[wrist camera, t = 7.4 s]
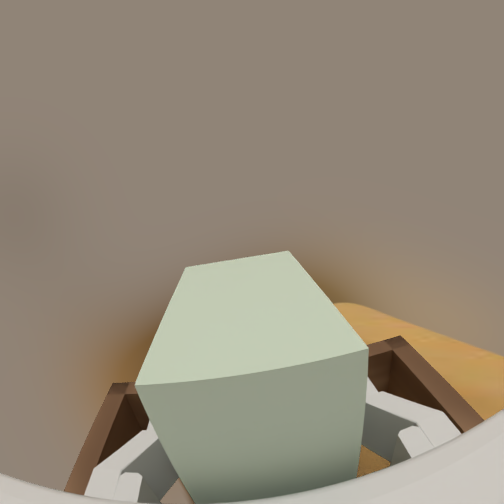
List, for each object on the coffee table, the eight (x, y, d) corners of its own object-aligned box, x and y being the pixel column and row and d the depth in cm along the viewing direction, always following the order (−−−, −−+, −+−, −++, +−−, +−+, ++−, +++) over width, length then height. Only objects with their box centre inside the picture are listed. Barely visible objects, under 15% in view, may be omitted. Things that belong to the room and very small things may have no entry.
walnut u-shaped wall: (118, 563, 7) (54, 514, 6) (144, 446, 15) (112, 383, 14) (459, 505, 7) (501, 438, 6) (392, 404, 16) (400, 335, 14)
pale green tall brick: (248, 576, 7) (134, 385, 4) (239, 469, 13) (185, 267, 10) (337, 561, 7) (369, 348, 4) (307, 458, 13) (288, 250, 11)
